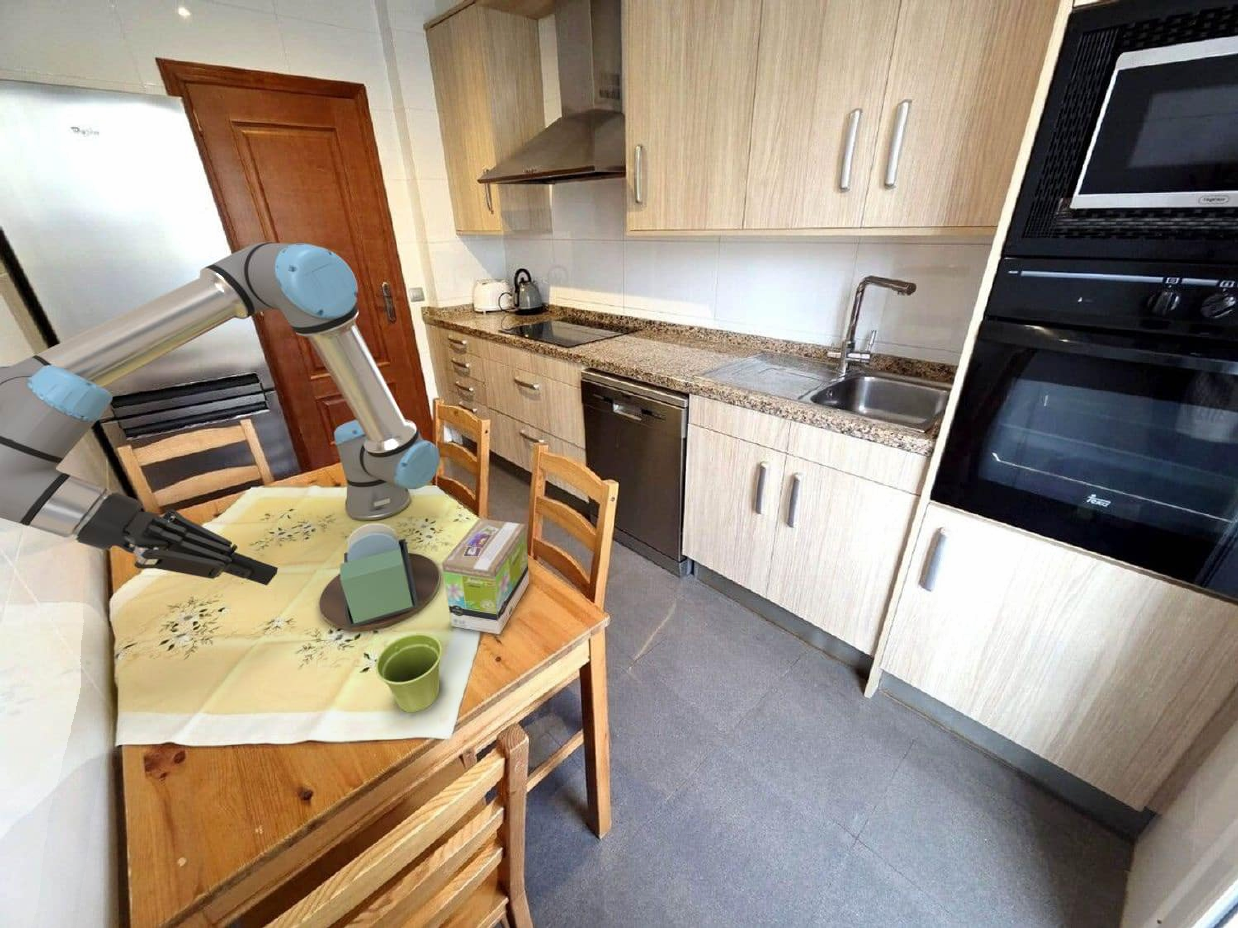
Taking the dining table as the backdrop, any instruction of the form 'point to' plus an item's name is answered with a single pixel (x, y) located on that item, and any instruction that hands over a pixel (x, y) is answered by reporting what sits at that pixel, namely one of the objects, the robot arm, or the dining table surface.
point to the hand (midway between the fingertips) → (272, 576)
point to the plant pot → (411, 670)
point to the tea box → (486, 575)
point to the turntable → (425, 589)
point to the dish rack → (376, 575)
